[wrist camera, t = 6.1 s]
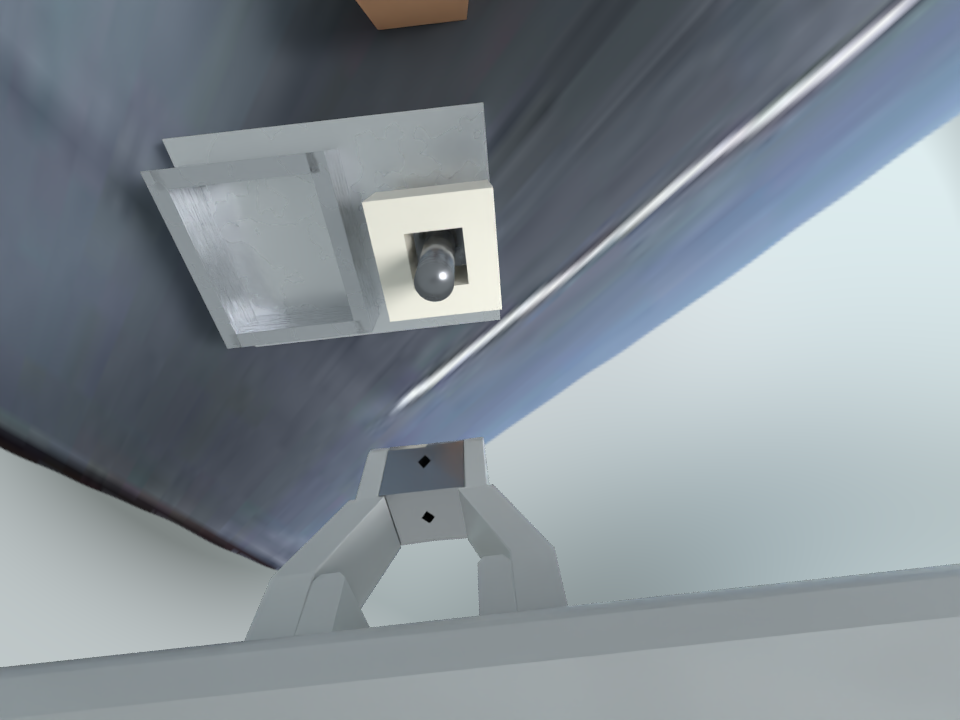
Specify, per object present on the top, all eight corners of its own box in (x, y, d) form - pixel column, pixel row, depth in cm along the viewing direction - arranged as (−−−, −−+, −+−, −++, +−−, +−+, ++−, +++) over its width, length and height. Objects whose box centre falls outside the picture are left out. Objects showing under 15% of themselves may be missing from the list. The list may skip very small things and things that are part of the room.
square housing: (487, 179, 22) (492, 187, 19) (496, 287, 25) (501, 309, 22) (375, 192, 22) (361, 202, 19) (398, 298, 25) (390, 321, 22)
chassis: (482, 103, 24) (501, 82, 14) (498, 313, 31) (519, 399, 21) (174, 138, 24) (-30, 143, 14) (262, 339, 31) (169, 438, 21)
